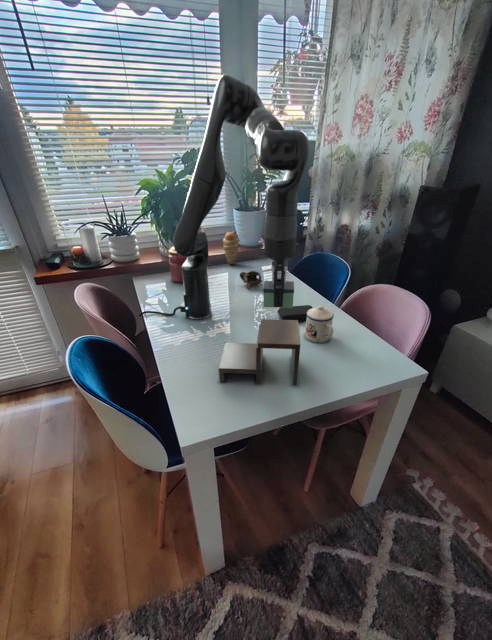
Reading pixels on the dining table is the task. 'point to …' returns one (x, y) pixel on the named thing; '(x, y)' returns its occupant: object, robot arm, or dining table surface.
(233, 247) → the cat ice cream
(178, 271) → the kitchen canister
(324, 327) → the teacup with lid
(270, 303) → the box
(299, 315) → the carrying case
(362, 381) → the dining table surface
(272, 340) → the shelf riser
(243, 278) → the pottery mug
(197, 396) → the dining table surface
